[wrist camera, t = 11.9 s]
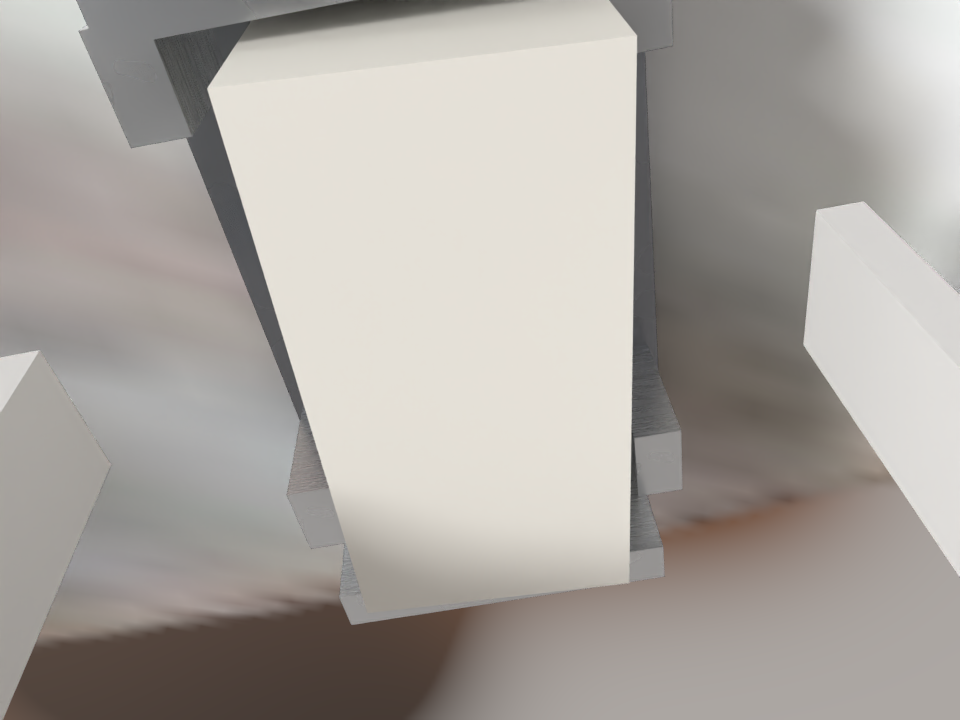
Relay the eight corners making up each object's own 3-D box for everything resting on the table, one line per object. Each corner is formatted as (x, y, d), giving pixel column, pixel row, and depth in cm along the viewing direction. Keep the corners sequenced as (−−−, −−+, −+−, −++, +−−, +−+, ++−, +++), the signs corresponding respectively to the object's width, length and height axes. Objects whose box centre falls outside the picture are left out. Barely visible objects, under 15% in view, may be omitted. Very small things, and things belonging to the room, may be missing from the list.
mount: (652, 407, 22) (710, 569, 18) (330, 460, 22) (307, 631, 18) (622, -188, 14) (717, -166, 9) (118, -86, 14) (-17, -18, 10)
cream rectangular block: (578, 386, 20) (628, 583, 15) (379, 409, 20) (367, 613, 15) (562, -58, 14) (637, 35, 9) (279, -23, 14) (206, 88, 9)
